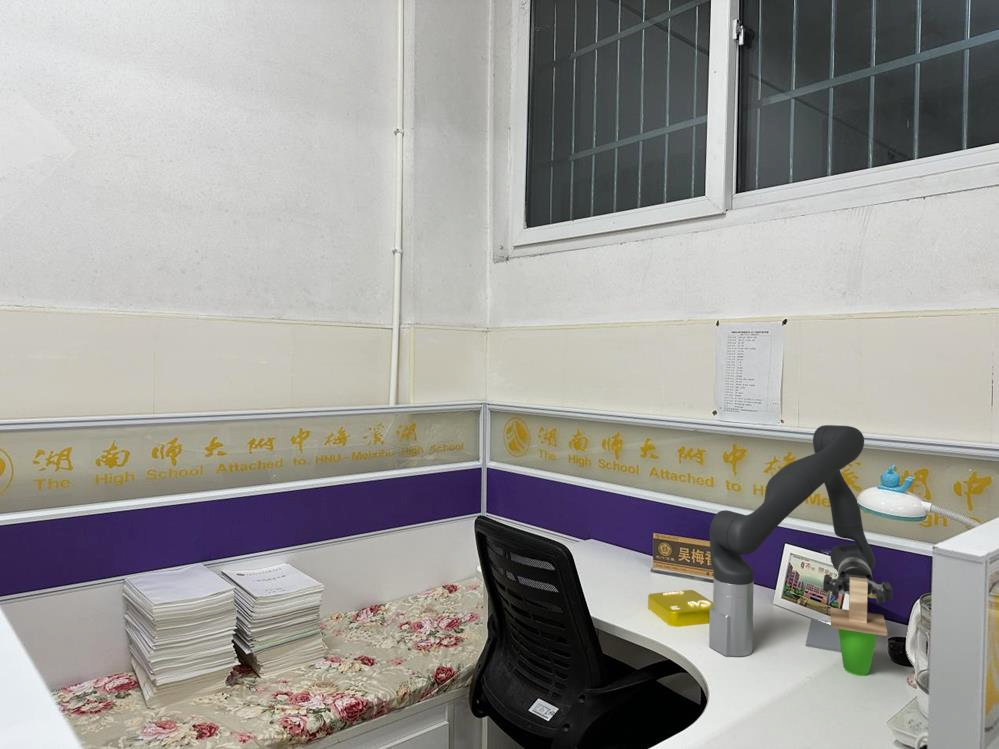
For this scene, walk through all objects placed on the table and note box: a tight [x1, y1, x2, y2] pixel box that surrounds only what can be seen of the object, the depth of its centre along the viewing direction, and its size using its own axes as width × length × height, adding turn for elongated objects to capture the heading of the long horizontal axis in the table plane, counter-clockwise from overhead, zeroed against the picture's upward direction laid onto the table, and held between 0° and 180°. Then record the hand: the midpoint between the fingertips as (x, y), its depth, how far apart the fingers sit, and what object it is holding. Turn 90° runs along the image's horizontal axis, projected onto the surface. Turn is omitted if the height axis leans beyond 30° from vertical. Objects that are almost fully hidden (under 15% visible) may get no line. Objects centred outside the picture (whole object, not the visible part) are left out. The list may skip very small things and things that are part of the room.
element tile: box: [647, 589, 713, 628], centre depth 193 cm, size 15×15×5 cm
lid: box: [829, 577, 888, 637], centre depth 159 cm, size 11×11×10 cm
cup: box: [838, 629, 878, 677], centre depth 160 cm, size 9×9×11 cm
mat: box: [805, 618, 841, 653], centre depth 178 cm, size 18×13×1 cm
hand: (858, 596), depth 159 cm, fingers open, 8 cm apart
